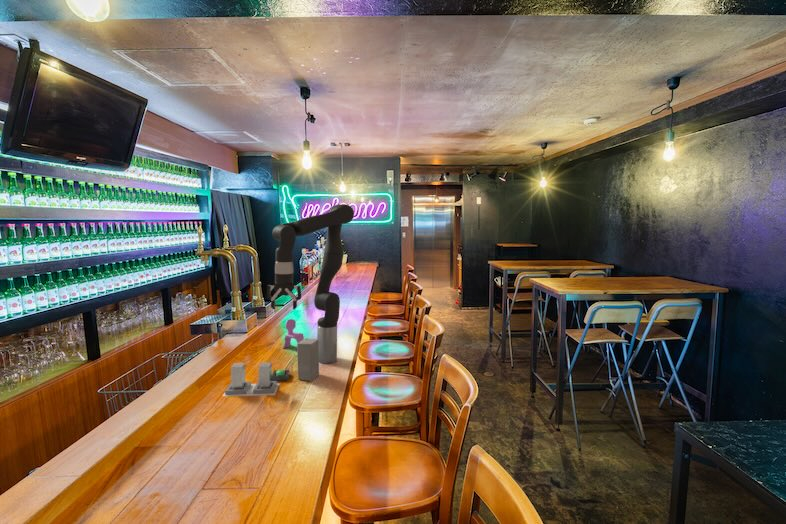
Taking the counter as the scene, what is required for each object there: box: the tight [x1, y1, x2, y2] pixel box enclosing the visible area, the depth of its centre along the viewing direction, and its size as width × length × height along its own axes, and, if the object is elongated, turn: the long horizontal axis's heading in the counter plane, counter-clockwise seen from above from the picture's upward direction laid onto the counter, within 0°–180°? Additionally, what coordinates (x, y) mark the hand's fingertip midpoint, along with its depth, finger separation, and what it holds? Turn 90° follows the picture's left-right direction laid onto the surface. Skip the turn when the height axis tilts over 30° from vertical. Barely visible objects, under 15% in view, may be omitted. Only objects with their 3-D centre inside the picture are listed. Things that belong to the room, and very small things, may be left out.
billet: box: [258, 361, 273, 389], centre depth 141 cm, size 4×4×10 cm
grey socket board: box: [221, 380, 280, 397], centre depth 141 cm, size 19×10×2 cm, turn 97°
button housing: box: [272, 369, 291, 382], centre depth 152 cm, size 6×6×3 cm
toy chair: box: [282, 318, 305, 352], centre depth 189 cm, size 8×9×15 cm
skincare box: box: [296, 337, 320, 382], centre depth 156 cm, size 8×7×16 cm
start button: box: [276, 368, 286, 376], centre depth 152 cm, size 4×4×3 cm
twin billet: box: [230, 362, 246, 389], centre depth 140 cm, size 4×4×10 cm
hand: (284, 309), depth 158 cm, fingers open, 8 cm apart
